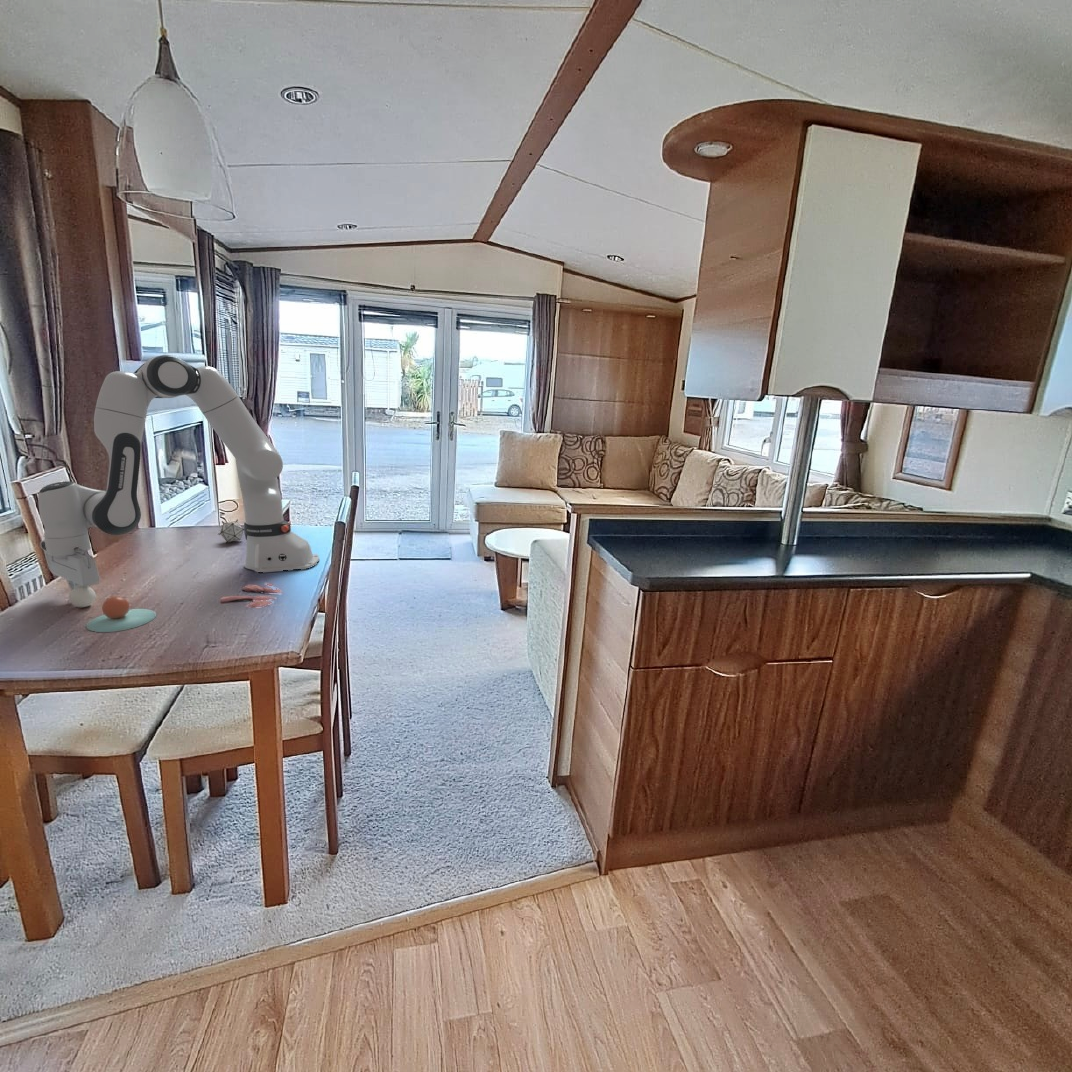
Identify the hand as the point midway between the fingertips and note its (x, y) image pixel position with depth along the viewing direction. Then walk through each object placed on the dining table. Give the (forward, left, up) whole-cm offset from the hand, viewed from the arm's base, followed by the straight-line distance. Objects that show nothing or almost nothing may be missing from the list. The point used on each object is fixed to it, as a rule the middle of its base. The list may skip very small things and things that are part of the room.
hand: (78, 595), depth 152 cm
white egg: (-4, +5, +1) cm, 6 cm away
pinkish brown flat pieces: (-43, -1, -3) cm, 43 cm away
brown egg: (-16, +13, +1) cm, 20 cm away
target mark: (-18, +15, -2) cm, 23 cm away
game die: (-20, -57, -2) cm, 60 cm away
